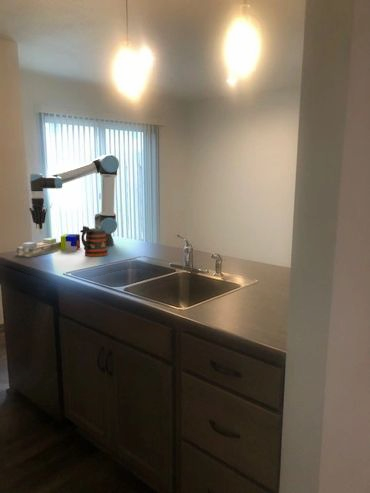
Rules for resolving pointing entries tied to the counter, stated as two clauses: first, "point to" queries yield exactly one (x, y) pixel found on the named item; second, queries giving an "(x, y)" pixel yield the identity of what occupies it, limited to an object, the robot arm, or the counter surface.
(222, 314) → the counter surface
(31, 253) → the key console
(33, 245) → the key slate
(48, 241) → the key sage
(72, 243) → the puzzle toy
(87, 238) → the beer stein
